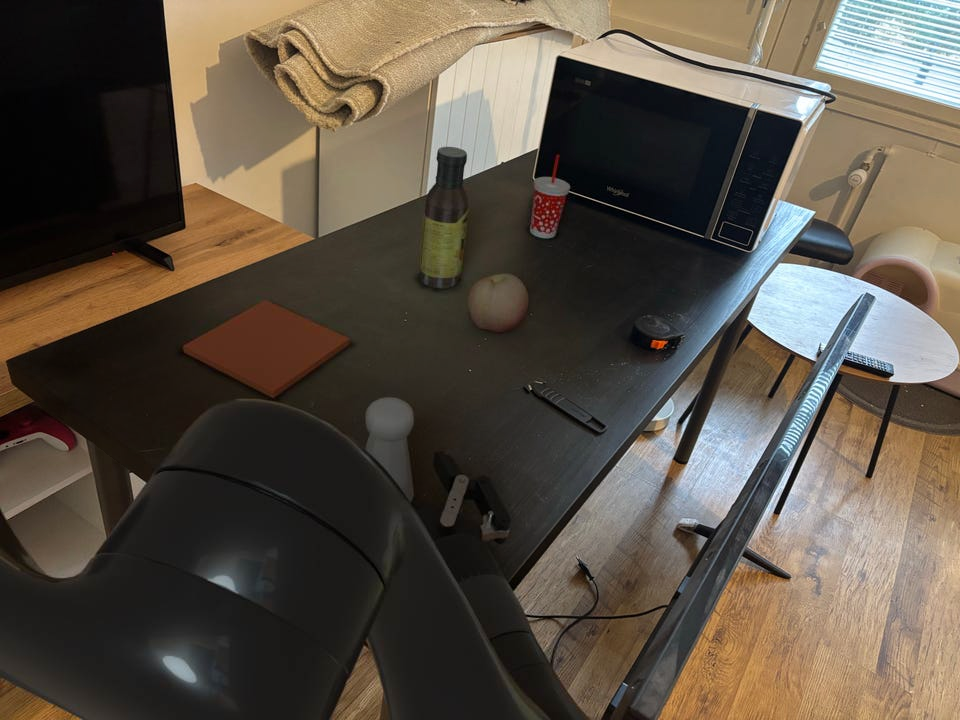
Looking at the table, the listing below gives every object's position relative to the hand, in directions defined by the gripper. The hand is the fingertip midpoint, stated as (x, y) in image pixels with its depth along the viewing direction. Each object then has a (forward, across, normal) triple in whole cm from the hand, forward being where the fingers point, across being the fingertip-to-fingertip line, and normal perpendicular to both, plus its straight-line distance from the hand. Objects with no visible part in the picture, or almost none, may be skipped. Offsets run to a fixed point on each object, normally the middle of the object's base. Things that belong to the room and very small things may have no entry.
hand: (393, 467), depth 67 cm
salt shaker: (+2, 0, +8) cm, 8 cm away
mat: (+31, +4, +8) cm, 32 cm away
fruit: (+29, -26, +8) cm, 39 cm away
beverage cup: (+54, -48, +8) cm, 72 cm away
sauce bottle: (+42, -23, +8) cm, 49 cm away
